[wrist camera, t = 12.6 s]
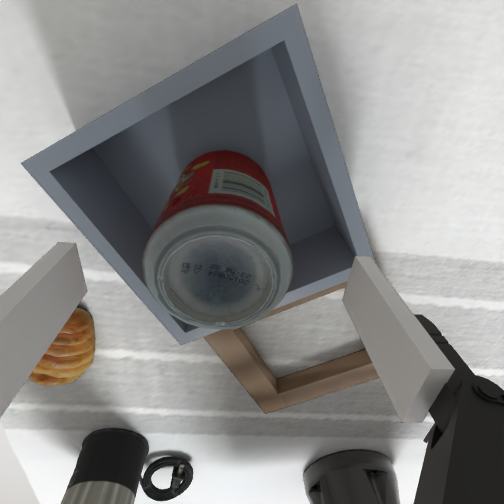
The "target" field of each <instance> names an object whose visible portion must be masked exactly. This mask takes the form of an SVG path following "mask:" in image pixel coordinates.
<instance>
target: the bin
mask: <svg viewBox="0 0 504 504" xmlns="http://www.w3.org/2000/svg"><path fill="white" fill-rule="evenodd" d="M221 150H229V151H234V152H238V153H241V154H243V155H246V156H247V157H249V158H251V159H252V160H253V161H255V162H256V163H257V164H259V166H260V167H261V168H262V169H263V171H264V172H265V174H266V176H267V178H268V179H269V182H270V185H271V188H272V192H273V195H274V198H275V201H276V205H277V208H278V211H279V215H280V218H281V221H282V224H283V227H284V230H285V233H286V236H287V239H288V242H289V245H290V249H291V253H292V257H293V276H292V280H291V283H290V285H289V288H288V290H287V292H286V294H285V296H284V298H283V299H282V300H281V302H280V303H279V304H278V305H277V306H276V307H275V308H274V309H276V308H279V307H281V306H284V305H286V304H289V303H292V302H294V301H297V300H299V299H302V298H305V297H307V296H310V295H312V294H315V293H317V292H320V291H323V290H325V289H328V288H330V287H333V286H336V285H338V284H341V283H343V282H346V281H348V278H349V275H350V272H351V268H352V265H353V261H354V258H355V256H366V257H371V259H372V260H373V261H374V262H375V259H374V256H373V253H372V249H371V246H370V243H369V240H368V236H367V233H366V230H365V226H364V223H363V220H362V217H361V213H360V210H359V207H358V203H357V200H356V197H355V194H354V190H353V187H352V184H351V180H350V177H349V174H348V171H347V167H346V164H345V161H344V157H343V154H342V151H341V148H340V144H339V141H338V138H337V134H336V131H335V128H334V125H333V121H332V118H331V115H330V111H329V108H328V105H327V102H326V98H325V95H324V92H323V88H322V85H321V82H320V79H319V75H318V72H317V69H316V65H315V62H314V59H313V56H312V52H311V49H310V46H309V42H308V39H307V36H306V33H305V29H304V26H303V23H302V19H301V16H300V13H299V10H298V6H297V4H295V5H293V6H291V7H290V8H288V9H286V10H285V11H283V12H281V13H279V14H278V15H276V16H274V17H272V18H271V19H269V20H267V21H266V22H264V23H262V24H260V25H259V26H257V27H255V28H253V29H252V30H250V31H248V32H247V33H245V34H243V35H241V36H240V37H238V38H236V39H234V40H233V41H231V42H229V43H228V44H226V45H224V46H222V47H221V48H219V49H217V50H215V51H214V52H212V53H210V54H209V55H207V56H205V57H203V58H202V59H200V60H198V61H196V62H195V63H193V64H191V65H190V66H188V67H186V68H184V69H183V70H181V71H179V72H177V73H176V74H174V75H172V76H170V77H169V78H167V79H165V80H164V81H162V82H160V83H158V84H157V85H155V86H153V87H151V88H150V89H148V90H146V91H145V92H143V93H141V94H139V95H138V96H136V97H134V98H132V99H131V100H129V101H127V102H126V103H124V104H122V105H120V106H119V107H117V108H115V109H113V110H112V111H110V112H108V113H107V114H105V115H103V116H101V117H100V118H98V119H96V120H94V121H93V122H91V123H89V124H88V125H86V126H84V127H82V128H81V129H79V130H77V131H75V132H74V133H72V134H70V135H69V136H67V137H65V138H63V139H62V140H60V141H58V142H56V143H55V144H53V145H51V146H49V147H48V148H46V149H44V150H43V151H41V152H39V153H37V154H36V155H34V156H32V157H30V158H29V159H27V160H25V161H24V162H22V163H21V164H22V165H23V167H24V168H25V169H26V170H27V171H28V172H29V173H30V175H31V176H32V177H33V178H34V179H35V180H36V181H37V182H38V184H39V185H40V186H41V187H42V188H43V189H44V190H45V192H46V193H47V194H48V195H49V196H50V197H51V198H52V200H53V201H54V202H55V203H56V204H57V205H58V206H59V207H60V209H61V210H62V211H63V212H64V213H65V214H66V215H67V217H68V218H69V219H70V220H71V221H72V222H73V223H74V225H75V226H76V227H77V228H78V229H79V230H80V231H81V232H82V234H83V235H84V236H85V237H86V238H87V239H88V240H89V242H90V243H91V244H92V245H93V246H94V247H95V248H96V249H97V251H98V252H99V253H100V254H101V255H102V256H103V257H104V259H105V260H106V261H107V262H108V263H109V264H110V265H111V267H112V268H113V269H114V270H115V271H116V272H117V273H118V274H119V276H120V277H121V278H122V279H123V280H124V281H125V282H126V284H127V285H128V286H129V287H130V288H131V289H132V290H133V291H134V293H135V294H136V295H137V296H138V297H139V298H140V299H141V301H142V302H143V303H144V304H145V305H146V306H147V307H148V309H149V310H150V311H151V312H152V313H153V314H154V315H155V316H156V318H157V319H158V320H159V321H160V322H161V323H162V324H163V326H164V327H165V328H166V329H167V330H168V331H169V332H170V333H171V335H172V336H173V337H174V338H175V339H176V340H177V341H178V343H179V344H180V345H183V344H186V343H188V342H191V341H194V340H196V339H199V338H201V337H204V336H206V335H209V334H212V333H214V332H217V331H219V330H222V329H205V328H201V327H197V326H195V325H191V324H188V323H185V322H183V321H181V320H180V319H178V318H176V317H174V316H173V315H171V314H170V313H168V312H167V311H166V310H165V309H164V308H163V307H162V306H160V304H159V303H158V302H157V301H156V300H155V299H154V298H153V296H152V295H151V293H150V291H149V289H148V287H147V285H146V283H145V281H144V276H143V270H142V257H143V252H144V247H145V244H146V242H147V240H148V238H149V236H150V234H151V232H152V230H153V228H154V226H155V224H156V222H157V220H158V218H159V216H160V214H161V213H162V211H163V209H164V206H165V205H166V203H167V201H168V199H169V197H170V195H171V193H172V191H173V189H174V187H175V186H176V184H177V182H178V180H179V178H180V176H181V174H182V172H183V170H184V169H185V168H186V167H187V165H188V164H189V163H191V162H192V161H193V160H194V159H196V158H197V157H199V156H201V155H203V154H205V153H208V152H212V151H221ZM375 264H376V263H375ZM274 309H273V310H274Z"/></svg>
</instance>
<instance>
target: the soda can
mask: <svg viewBox="0 0 504 504" xmlns="http://www.w3.org/2000/svg"><path fill="white" fill-rule="evenodd" d="M142 270H143V276H144V281H145V283H146V285H147V287H148V289H149V291H150V293H151V295H152V296H153V298H154V299H155V300H156V301H157V302H158V303H159V304H160V306H162V307H163V308H164V309H165V310H166V311H167V312H168V313H170V314H171V315H173V316H174V317H176V318H178V319H180V320H181V321H183V322H185V323H188V324H191V325H195V326H197V327H201V328H205V329H232V328H237V327H242V326H245V325H248V324H250V323H254V322H256V321H257V320H259V319H260V318H262V317H264V316H266V315H267V314H269V313H270V312H271V311H272V310H273V309H274V308H275V307H276V306H277V305H278V304H279V303H280V302H281V300H282V299H283V298H284V296H285V294H286V292H287V290H288V288H289V285H290V283H291V280H292V276H293V257H292V253H291V249H290V245H289V242H288V239H287V236H286V233H285V230H284V227H283V224H282V221H281V218H280V215H279V211H278V208H277V205H276V201H275V198H274V195H273V192H272V188H271V185H270V182H269V179H268V178H267V176H266V174H265V172H264V171H263V169H262V168H261V167H260V166H259V164H257V163H256V162H255V161H253V160H252V159H251V158H249V157H247V156H246V155H243V154H241V153H238V152H234V151H229V150H221V151H212V152H208V153H205V154H203V155H201V156H199V157H197V158H196V159H194V160H193V161H192V162H191V163H189V164H188V165H187V167H186V168H185V169H184V170H183V172H182V174H181V176H180V178H179V180H178V182H177V184H176V186H175V187H174V189H173V191H172V193H171V195H170V197H169V199H168V201H167V203H166V205H165V206H164V209H163V211H162V213H161V214H160V216H159V218H158V220H157V222H156V224H155V226H154V228H153V230H152V232H151V234H150V236H149V238H148V240H147V242H146V244H145V247H144V252H143V257H142Z"/></svg>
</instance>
